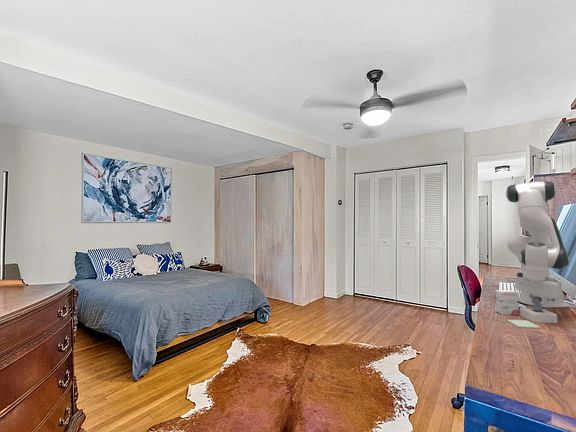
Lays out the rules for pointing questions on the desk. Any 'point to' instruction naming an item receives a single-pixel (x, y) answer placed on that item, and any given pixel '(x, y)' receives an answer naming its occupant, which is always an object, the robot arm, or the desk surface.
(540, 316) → the white square frame block
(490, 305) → the desk surface
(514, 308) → the ink box
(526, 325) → the mat
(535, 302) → the plug
